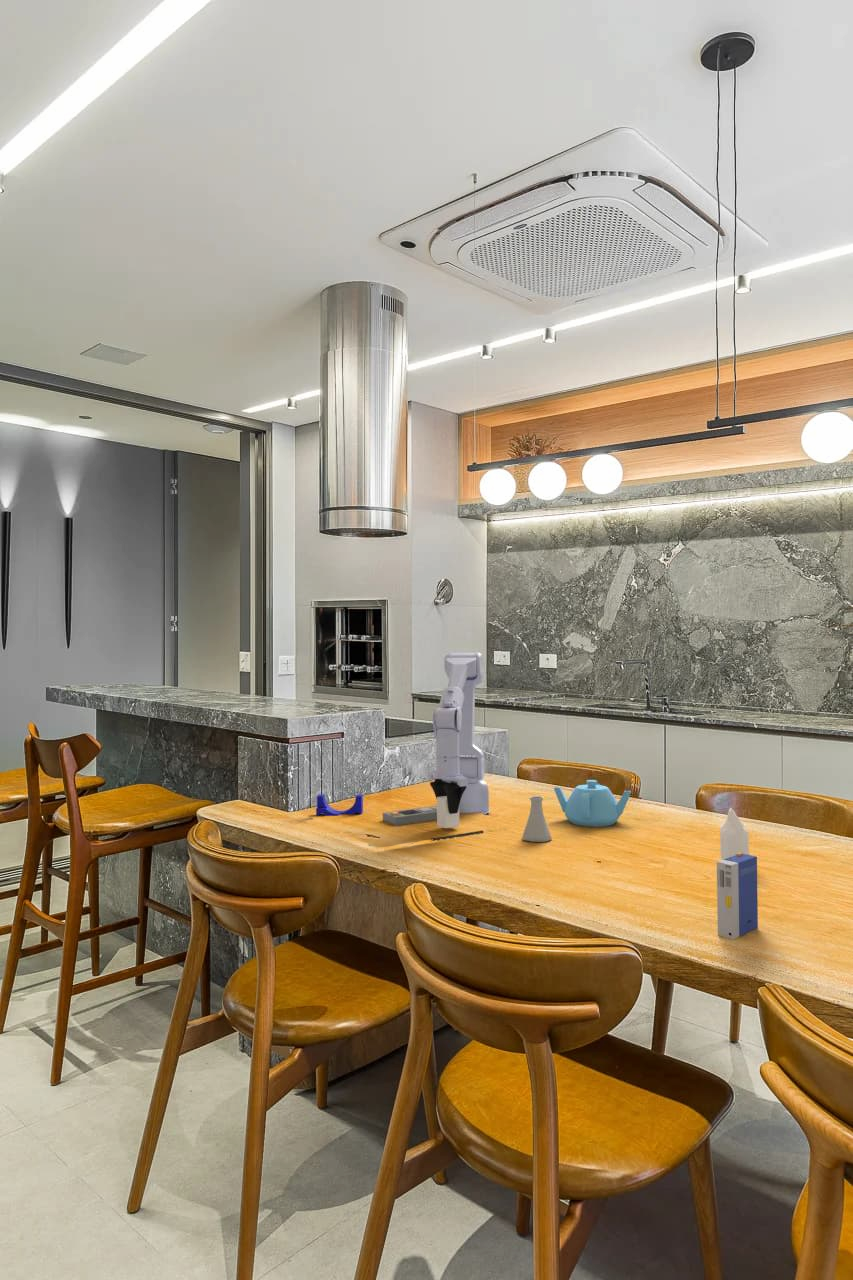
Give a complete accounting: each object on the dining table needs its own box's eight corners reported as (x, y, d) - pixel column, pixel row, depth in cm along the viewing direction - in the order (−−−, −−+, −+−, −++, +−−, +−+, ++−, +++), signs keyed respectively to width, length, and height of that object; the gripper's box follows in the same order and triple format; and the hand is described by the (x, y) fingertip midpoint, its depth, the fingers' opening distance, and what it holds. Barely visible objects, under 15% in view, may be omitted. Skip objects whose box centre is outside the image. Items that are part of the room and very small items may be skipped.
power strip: (441, 816, 221) (441, 803, 221) (455, 820, 215) (455, 807, 215) (382, 824, 211) (382, 811, 211) (395, 829, 205) (395, 815, 205)
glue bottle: (753, 811, 165) (725, 811, 165) (754, 870, 165) (726, 870, 165) (742, 805, 171) (715, 805, 171) (743, 862, 171) (716, 862, 171)
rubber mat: (461, 825, 209) (461, 823, 209) (483, 833, 200) (483, 831, 200) (413, 832, 202) (413, 830, 202) (435, 840, 193) (434, 838, 193)
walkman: (742, 923, 135) (741, 851, 135) (758, 928, 132) (757, 854, 132) (716, 935, 129) (715, 859, 130) (732, 940, 127) (731, 863, 127)
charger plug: (450, 823, 204) (450, 795, 204) (459, 826, 200) (459, 797, 200) (437, 825, 202) (436, 797, 202) (445, 828, 198) (445, 799, 198)
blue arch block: (316, 819, 218) (316, 797, 218) (319, 816, 223) (319, 794, 223) (360, 819, 218) (360, 797, 218) (363, 816, 222) (362, 794, 222)
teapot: (550, 818, 216) (550, 778, 216) (598, 813, 222) (597, 773, 222) (583, 831, 202) (583, 787, 202) (633, 824, 208) (633, 782, 208)
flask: (555, 837, 195) (555, 795, 195) (547, 844, 189) (546, 801, 189) (526, 834, 198) (526, 793, 198) (517, 841, 192) (517, 798, 192)
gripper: (418, 754, 205) (419, 808, 205) (449, 761, 193) (450, 818, 193) (442, 752, 209) (443, 805, 209) (474, 758, 196) (475, 815, 196)
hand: (448, 811), depth 201 cm, fingers closed on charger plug, 4 cm apart
